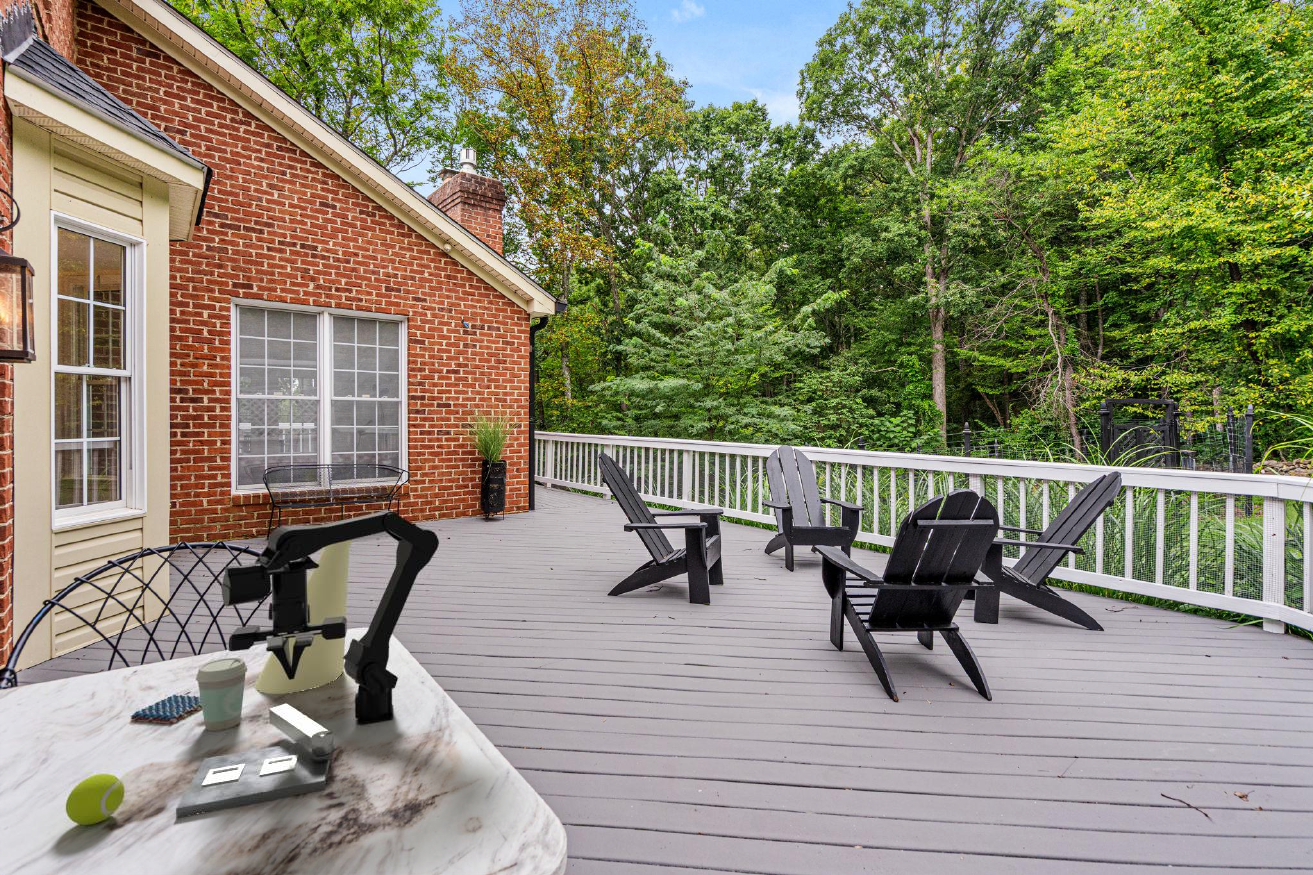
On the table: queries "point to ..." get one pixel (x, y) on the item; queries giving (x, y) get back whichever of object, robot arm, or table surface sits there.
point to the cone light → (325, 602)
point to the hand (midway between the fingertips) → (291, 678)
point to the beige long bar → (301, 729)
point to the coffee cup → (222, 692)
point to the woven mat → (169, 709)
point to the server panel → (254, 778)
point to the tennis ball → (95, 799)
